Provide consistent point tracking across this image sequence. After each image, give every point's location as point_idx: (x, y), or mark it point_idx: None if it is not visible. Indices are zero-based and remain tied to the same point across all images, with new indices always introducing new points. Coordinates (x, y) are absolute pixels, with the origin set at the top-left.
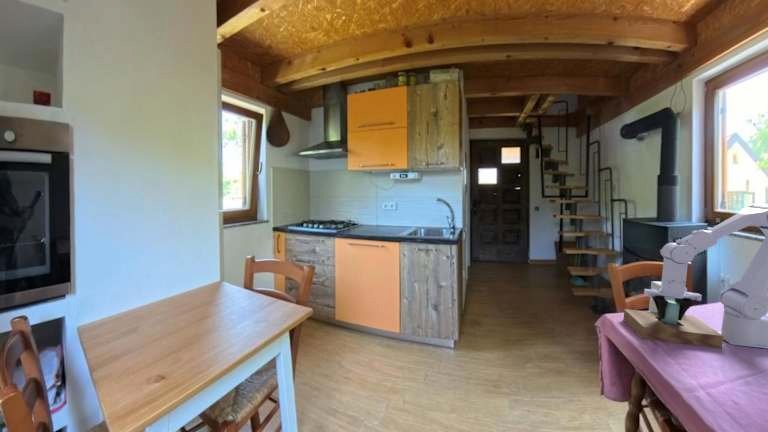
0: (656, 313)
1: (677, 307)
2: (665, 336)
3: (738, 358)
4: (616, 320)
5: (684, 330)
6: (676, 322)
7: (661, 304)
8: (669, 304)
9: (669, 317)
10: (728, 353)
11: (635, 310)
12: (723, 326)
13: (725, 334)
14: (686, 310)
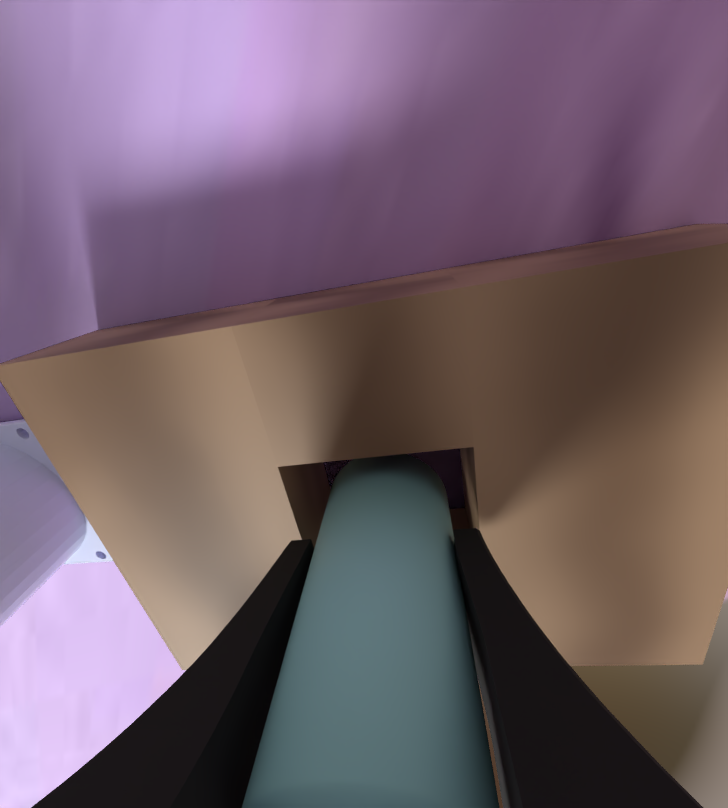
0: None
1: (304, 720)
2: (500, 265)
3: (4, 170)
4: None
5: (311, 349)
6: (340, 502)
7: (647, 777)
8: (447, 796)
9: (414, 533)
10: (63, 245)
11: (599, 661)
12: (13, 567)
13: (44, 504)
14: (186, 672)
